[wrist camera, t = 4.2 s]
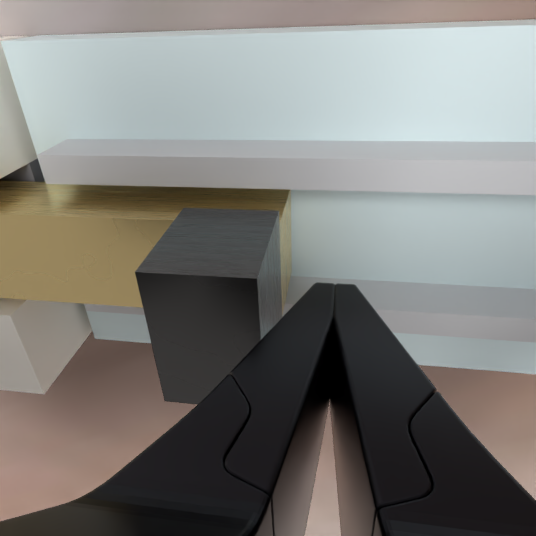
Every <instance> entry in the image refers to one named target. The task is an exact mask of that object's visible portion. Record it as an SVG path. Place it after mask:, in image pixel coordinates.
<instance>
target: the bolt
mask: <svg viewBox="0 0 536 536" xmlns="http://www.w3.org/2000/svg"><path fill="white" fill-rule="evenodd" d="M291 272H292V252H291V190H288V189H246V188H203V187H161V186H119V185H76V184H46V182H34V181H0V298H8V299H23V300H38V301H53V302H67V303H82V304H97V305H112V306H126V307H141V308H143V309H144V314H145V318H146V322H147V327H148V331H149V335H150V340H151V344H152V348H153V353H154V357H155V361H156V365H157V370H158V374H159V378H160V383H161V387H162V391H163V396H164V400H165V401H170V402H179V403H189V404H199V403H200V402H201V401H202V400H203V399H204V398H205V397H206V396H207V395H208V394H209V393H210V392H211V391H212V390H213V389H214V388H215V387H216V386H217V385H218V384H219V383H220V382H221V381H222V380H223V379H224V378H225V377H226V376H227V375H228V374H230V372H231V371H232V370H233V369H234V368H235V367H236V365H237V364H238V363H239V362H240V361H241V360H242V359H243V358H244V357H245V356H246V355H247V354H248V353H249V352H250V351H251V350H252V349H253V348H254V346H255V345H256V344H257V343H258V342H259V341H260V340H261V339H262V338H263V337H264V336H265V335H266V334H267V333H268V332H269V331H270V330H271V329H272V327H273V326H274V325H275V324H276V323H277V322H278V321H279V320H280V319H281V318H282V315H283V310H284V306H285V301H286V296H287V291H288V287H289V282H290V277H291Z"/></svg>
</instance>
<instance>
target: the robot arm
mask: <svg viewBox="0 0 536 536" xmlns="http://www.w3.org/2000/svg"><path fill="white" fill-rule="evenodd" d="M329 401H330V409H331V421H332V433H333V444H334V456H335V468H336V480H337V492H338V504H339V515H340V527H341V536H536V500H535V499H534V498H533V497H532V496H531V495H530V494H529V493H528V492H527V491H526V490H525V489H524V488H523V487H522V486H521V485H520V484H519V483H518V482H517V481H516V480H515V478H514V477H513V476H512V475H511V474H510V473H509V472H508V471H507V470H506V469H505V468H504V467H503V466H502V465H501V464H500V463H499V462H498V461H497V460H496V459H495V458H494V457H493V456H492V454H491V453H490V452H489V451H488V450H487V449H486V448H485V447H484V446H483V445H482V444H481V442H480V441H479V440H478V439H477V438H476V437H475V436H474V435H473V434H472V433H471V432H470V430H469V429H468V428H467V427H466V426H465V424H464V423H463V422H462V421H461V419H460V418H459V417H458V416H457V415H456V413H455V412H454V411H453V410H452V409H451V407H450V406H449V405H448V403H447V402H446V401H445V400H444V398H443V397H442V396H441V394H440V393H439V392H437V390H436V388H435V387H434V385H433V384H432V383H431V382H430V380H429V379H428V378H427V376H426V375H425V374H424V373H423V371H422V370H421V369H420V367H419V366H418V365H417V363H416V362H415V361H414V360H413V358H412V357H411V356H410V354H409V353H408V352H407V351H406V349H405V348H404V347H403V345H402V344H401V343H400V341H399V340H398V339H397V338H396V336H395V335H394V334H393V332H392V331H391V330H390V328H389V327H388V326H387V325H386V323H385V322H384V321H383V319H382V318H381V317H380V316H379V314H378V313H377V312H376V310H375V309H374V308H373V306H372V305H371V304H370V303H369V301H368V300H367V299H366V297H365V296H364V295H363V294H362V292H361V291H360V290H359V288H358V287H357V286H356V285H355V284H342V283H337V284H334V283H322V282H316V283H314V284H313V285H312V286H311V287H310V288H309V290H308V291H307V292H306V293H305V294H304V295H303V296H302V297H301V298H300V299H299V300H298V301H297V302H296V303H295V304H294V305H293V306H292V307H291V309H290V310H289V311H288V312H287V313H286V314H285V315H284V316H283V317H282V318H281V319H280V320H279V321H278V322H277V323H276V324H275V325H274V326H273V327H272V329H271V330H270V331H269V332H268V333H267V334H266V335H265V336H264V337H263V338H262V339H261V340H260V341H259V342H258V343H257V344H256V345H255V346H254V348H253V349H252V350H251V351H250V352H249V353H248V354H247V355H246V356H245V357H244V358H243V359H242V360H241V361H240V362H239V363H238V364H237V365H236V367H235V368H234V369H233V370H232V371H231V372H230V374H228V375H227V376H226V377H225V378H224V379H223V380H222V381H221V382H220V383H219V384H218V385H217V386H216V387H215V388H214V389H213V390H212V391H211V392H210V393H209V394H208V395H207V396H206V397H205V398H204V399H203V400H202V401H201V402H200V403H199V404H198V405H197V406H196V407H195V408H194V409H192V410H191V411H190V412H189V413H188V414H187V415H186V416H185V417H183V418H182V419H181V420H180V421H179V422H178V423H177V424H175V425H174V426H173V427H172V428H171V429H169V430H168V431H167V432H166V433H165V434H163V435H162V436H161V437H160V438H159V439H157V440H156V441H155V442H154V443H153V444H151V445H150V446H149V447H148V448H147V449H145V450H144V451H143V452H142V453H141V454H139V455H138V456H137V457H136V458H134V459H133V460H132V461H131V462H130V463H128V464H127V465H126V466H125V467H124V468H122V469H121V470H120V471H119V472H118V473H116V474H115V475H114V476H113V477H111V478H110V479H109V480H107V481H106V482H105V483H103V484H102V485H100V486H99V487H97V488H96V489H94V490H93V491H91V492H89V493H88V494H86V495H84V496H82V497H80V498H78V499H76V500H73V501H71V502H68V503H65V504H62V505H59V506H55V507H51V508H48V509H44V510H40V511H37V512H33V513H29V514H26V515H22V516H19V517H15V518H11V519H8V520H4V521H0V536H304V535H305V530H306V524H307V519H308V514H309V508H310V503H311V498H312V492H313V487H314V482H315V476H316V471H317V465H318V460H319V455H320V449H321V444H322V439H323V433H324V428H325V423H326V417H327V412H328V406H329Z"/></svg>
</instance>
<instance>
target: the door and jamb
mask: <svg viewBox="0 0 536 536" xmlns="http://www.w3.org/2000/svg"><path fill="white" fill-rule="evenodd" d="M0 181H34V182H46V184H76V185H119V186H161V187H203V188H246V189H288V190H291V252H292V272H291V277H290V282H289V287H288V291H287V296H286V301H285V306H284V310H283V315H282V317H283V316H284V315H285V314H286V313H287V312H288V311H289V310H290V309H291V307H292V306H293V305H294V304H295V303H296V302H297V301H298V300H299V299H300V298H301V297H302V296H303V295H304V294H305V293H306V292H307V291H308V290H309V288H310V287H311V286H312V285H313V284H314V283H316V282H322V283H334V284H337V283H342V284H355V285H356V286H357V287H358V288H359V290H360V291H361V292H362V294H363V295H364V296H365V297H366V299H367V300H368V301H369V303H370V304H371V305H372V306H373V308H374V309H375V310H376V312H377V313H378V314H379V316H380V317H381V318H382V319H383V321H384V322H385V323H386V325H387V326H388V327H389V328H390V330H391V331H392V332H393V334H394V335H395V336H396V338H397V339H398V340H399V341H400V343H401V344H402V345H403V347H404V348H405V349H406V351H407V352H408V353H409V354H410V356H411V357H412V358H413V360H414V361H415V362H416V363H417V365H426V366H439V367H451V368H463V369H476V370H488V371H501V372H513V373H526V374H536V19H529V20H498V21H467V22H437V23H406V24H375V25H344V26H313V27H282V28H252V29H221V30H190V31H159V32H128V33H97V34H66V35H38V36H32V37H28V36H5V37H0ZM92 331H93V334H94V337H95V339H103V340H116V341H128V342H141V343H151V340H150V335H149V331H148V327H147V322H146V318H145V314H144V309H143V308H141V307H126V306H112V305H97V304H82V303H67V302H53V301H38V300H23V299H8V298H0V390H6V391H16V392H25V393H35V394H45V393H46V392H47V390H48V389H49V388H50V386H51V385H52V384H53V382H54V381H55V380H56V378H57V377H58V376H59V374H60V373H61V372H62V370H63V369H64V368H65V366H66V365H67V364H68V362H69V361H70V360H71V358H72V357H73V356H74V355H75V353H76V352H77V351H78V349H79V348H80V347H81V345H82V344H83V343H84V341H85V340H86V339H87V337H88V336H89V335H90V333H91V332H92Z"/></svg>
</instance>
